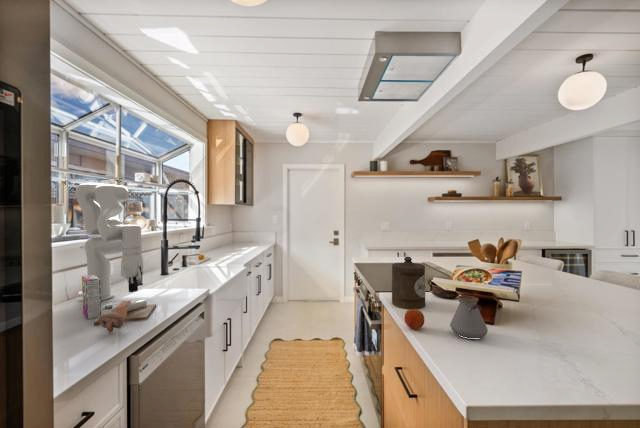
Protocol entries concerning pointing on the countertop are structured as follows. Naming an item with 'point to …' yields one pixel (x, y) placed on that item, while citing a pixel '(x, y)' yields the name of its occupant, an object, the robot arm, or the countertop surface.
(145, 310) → the board
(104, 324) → the mushroom
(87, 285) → the candy bar box
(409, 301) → the wooden container
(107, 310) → the link
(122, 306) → the keeper
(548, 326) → the countertop surface
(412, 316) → the fruit
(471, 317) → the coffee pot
